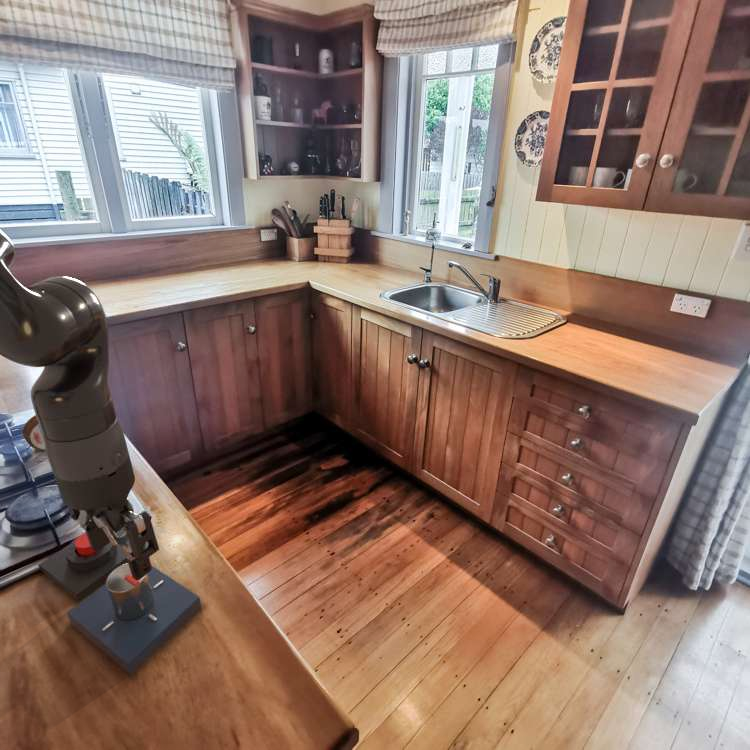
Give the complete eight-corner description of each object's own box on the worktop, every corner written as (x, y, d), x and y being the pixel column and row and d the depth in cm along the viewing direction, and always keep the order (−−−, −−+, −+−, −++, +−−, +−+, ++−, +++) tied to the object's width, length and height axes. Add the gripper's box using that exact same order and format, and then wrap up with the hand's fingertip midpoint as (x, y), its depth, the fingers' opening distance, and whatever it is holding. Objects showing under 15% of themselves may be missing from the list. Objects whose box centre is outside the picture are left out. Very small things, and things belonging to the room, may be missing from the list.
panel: (72, 627, 64) (66, 612, 62) (144, 571, 72) (140, 556, 71) (132, 678, 58) (127, 662, 57) (202, 611, 67) (199, 596, 65)
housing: (42, 574, 71) (34, 555, 69) (110, 529, 80) (105, 511, 78) (80, 605, 67) (73, 586, 65) (147, 553, 75) (143, 535, 74)
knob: (107, 609, 63) (97, 579, 60) (139, 584, 67) (131, 554, 64) (129, 626, 61) (120, 596, 58) (161, 599, 65) (153, 570, 62)
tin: (106, 426, 108) (97, 394, 104) (110, 431, 106) (102, 399, 102) (29, 452, 98) (16, 418, 94) (32, 459, 96) (20, 424, 92)
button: (72, 550, 71) (69, 541, 70) (95, 535, 74) (92, 526, 73) (86, 560, 69) (83, 551, 69) (109, 544, 72) (106, 536, 71)
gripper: (21, 454, 53) (60, 556, 60) (95, 499, 46) (129, 608, 54) (86, 424, 59) (115, 520, 66) (160, 461, 52) (183, 563, 60)
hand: (121, 560), depth 60 cm, fingers open, 8 cm apart
